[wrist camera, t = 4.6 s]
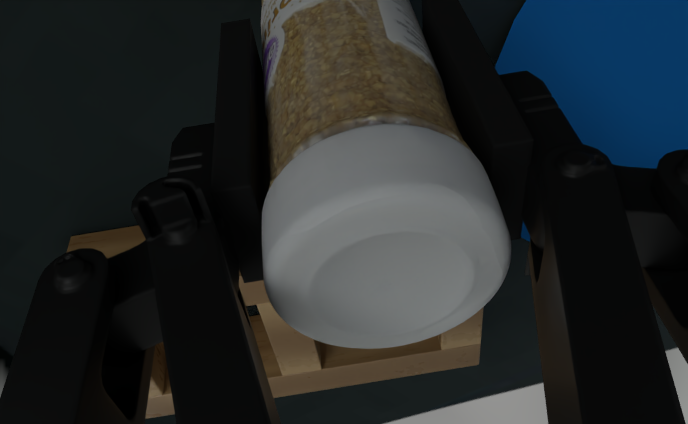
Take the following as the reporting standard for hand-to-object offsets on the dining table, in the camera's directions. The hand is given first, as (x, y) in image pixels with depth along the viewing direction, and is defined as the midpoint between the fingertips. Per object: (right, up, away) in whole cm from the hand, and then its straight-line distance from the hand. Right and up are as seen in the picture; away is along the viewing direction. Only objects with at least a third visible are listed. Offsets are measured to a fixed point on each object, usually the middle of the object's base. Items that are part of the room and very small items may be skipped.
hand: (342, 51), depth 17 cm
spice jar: (-1, +4, +4) cm, 5 cm away
